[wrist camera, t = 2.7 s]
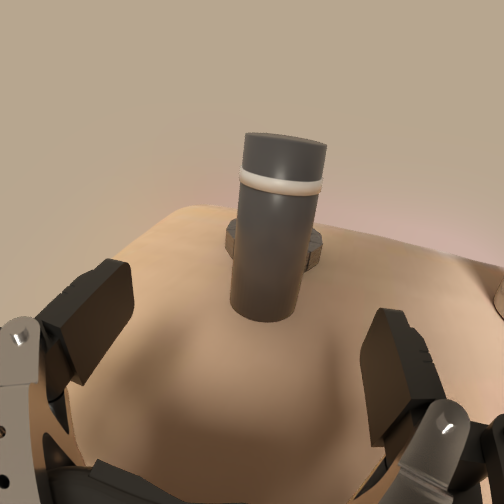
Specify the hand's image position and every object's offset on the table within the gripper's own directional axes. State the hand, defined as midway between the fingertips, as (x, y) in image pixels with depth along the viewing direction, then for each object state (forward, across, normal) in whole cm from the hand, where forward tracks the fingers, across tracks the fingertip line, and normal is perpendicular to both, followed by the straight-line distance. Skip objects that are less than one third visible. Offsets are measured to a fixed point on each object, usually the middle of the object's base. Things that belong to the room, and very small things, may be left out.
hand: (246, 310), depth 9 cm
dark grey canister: (+11, 0, +8) cm, 14 cm away
